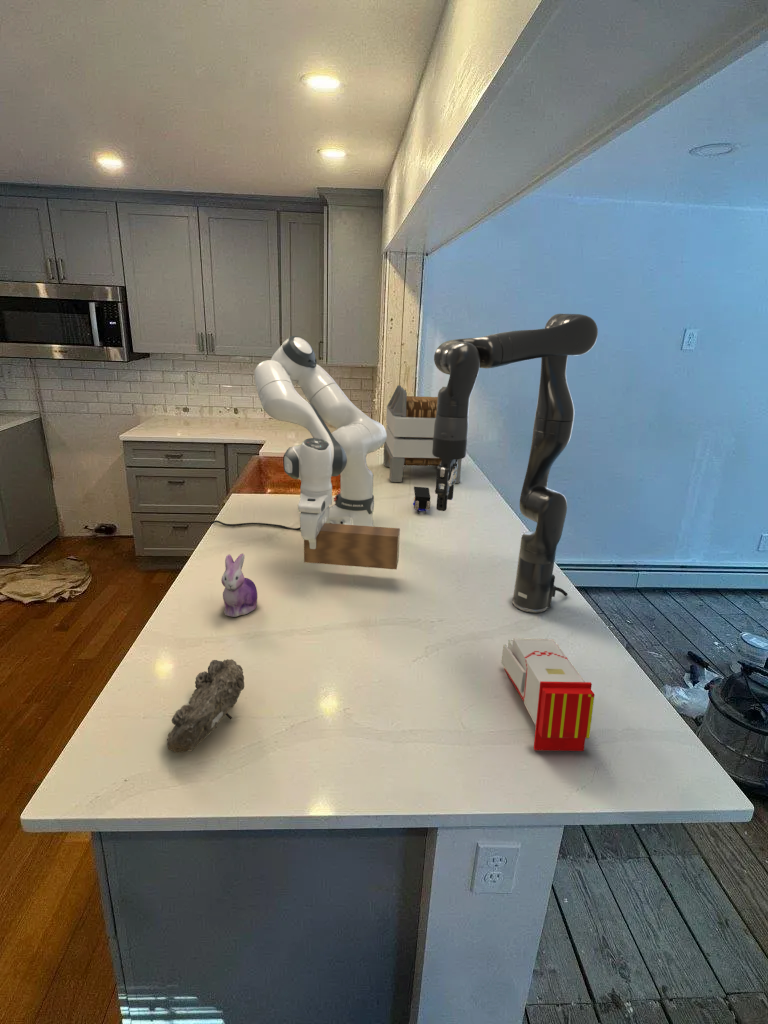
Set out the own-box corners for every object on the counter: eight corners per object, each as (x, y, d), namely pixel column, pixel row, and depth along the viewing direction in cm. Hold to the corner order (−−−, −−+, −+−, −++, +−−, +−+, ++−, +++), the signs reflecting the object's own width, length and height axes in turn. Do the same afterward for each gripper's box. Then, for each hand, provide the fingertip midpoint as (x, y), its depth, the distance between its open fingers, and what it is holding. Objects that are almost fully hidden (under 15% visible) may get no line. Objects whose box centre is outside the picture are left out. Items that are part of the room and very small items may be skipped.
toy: (549, 621, 128) (604, 690, 99) (544, 676, 131) (595, 758, 101) (496, 620, 128) (535, 688, 98) (492, 675, 130) (528, 757, 101)
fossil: (192, 660, 117) (244, 628, 112) (224, 691, 120) (276, 661, 115) (142, 746, 98) (202, 712, 93) (182, 779, 101) (242, 748, 96)
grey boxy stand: (382, 463, 289) (386, 382, 275) (445, 464, 293) (451, 384, 279) (390, 482, 257) (394, 392, 243) (460, 483, 261) (468, 394, 247)
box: (304, 562, 162) (303, 529, 159) (309, 553, 168) (308, 521, 165) (396, 569, 160) (397, 536, 156) (398, 560, 166) (399, 528, 162)
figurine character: (431, 519, 219) (427, 502, 232) (432, 501, 216) (429, 485, 229) (413, 518, 219) (411, 501, 232) (415, 500, 215) (412, 484, 229)
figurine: (226, 621, 140) (223, 566, 135) (217, 603, 148) (214, 550, 143) (264, 614, 144) (262, 560, 139) (253, 596, 153) (251, 545, 148)
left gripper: (313, 485, 169) (313, 529, 173) (295, 508, 149) (296, 556, 154) (334, 487, 168) (334, 530, 173) (319, 509, 149) (319, 558, 153)
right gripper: (462, 443, 118) (455, 516, 123) (471, 431, 131) (465, 497, 136) (427, 440, 120) (422, 512, 125) (439, 427, 133) (434, 493, 138)
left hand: (316, 542), depth 163 cm, fingers closed on box, 6 cm apart
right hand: (444, 504), depth 131 cm, fingers open, 8 cm apart
